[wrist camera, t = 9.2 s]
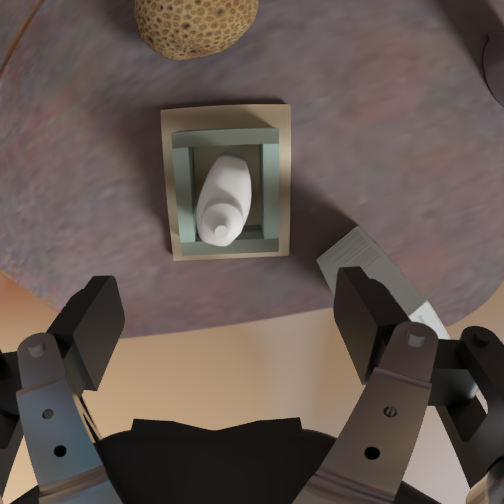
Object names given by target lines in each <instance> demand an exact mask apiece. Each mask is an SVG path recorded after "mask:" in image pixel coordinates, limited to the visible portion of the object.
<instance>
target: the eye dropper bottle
mask: <svg viewBox="0 0 504 504" xmlns="http://www.w3.org/2000/svg"><path fill="white" fill-rule="evenodd" d="M250 204H251V180H250V175H249V170H248V167H247V164H246V161H245V159H244V158H243V157H241V156H237V155H233V154H229V153H222V154H220V155H219V156H218V158H217V159H216V160H215V162H214V163H213V165H212V167H211V168H210V171H209V173H208V175H207V178H206V180H205V183H204V185H203V188H202V190H201V193H200V196H199V200H198V205H197V213H196V221H197V229H198V233H199V236H200V238H201V240H202V241H204V242H205V243H208V244H212V245H216V246H227V245H229V244H230V243H231V242H233V240H234V239H235V238H236V237H238V235H239V234H240V233H241V232H242V228H243V226H244V224H245V222H246V219H247V217H248V214H249V210H250Z"/></svg>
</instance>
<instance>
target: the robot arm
mask: <svg viewBox="0 0 504 504" xmlns="http://www.w3.org/2000/svg"><path fill="white" fill-rule="evenodd" d="M488 35H489V41H488V43H487V45H486V46H485V49H484V54H483V68H484V73H485V77H486V80H487V83H488V86H489V88H490V90H491V92H492V94H493V95H494V97H495V98H496V100H497V101H498V102H499V103H500V104H501V105H502V106H504V31H498V32H491V33H489V34H488ZM333 309H334V318H335V322H336V324H337V326H338V329H339V331H340V333H341V336H342V338H343V340H344V342H345V345H346V347H347V350H348V352H349V354H350V356H351V359H352V361H353V364H354V366H355V369H356V371H357V373H358V376H359V378H360V381H361V383H362V385H366V384H367V385H366V387H365V389H364V390H363V392H362V394H361V396H360V398H359V400H358V402H357V404H356V406H355V408H354V410H353V411H352V413H351V415H350V417H349V419H348V421H347V422H346V425H345V426H344V428H343V430H342V431H341V433H340V435H339V436H338V438H335V437H333V436H331V435H328V434H325V433H322V432H318V431H314V430H309V429H302V426H301V421H300V418H299V417H298V418H287V419H276V420H260V421H255V422H251V423H247V424H243V425H239V426H234V427H230V428H226V429H221V430H207V429H203V428H198V427H194V426H190V425H185V424H182V423H178V422H174V421H159V420H144V419H134V420H133V424H132V428H131V430H129V431H123V432H119V433H116V434H112V435H110V436H107V437H105V438H102V436H101V434H100V433H99V431H98V428H97V426H96V424H95V422H94V420H93V418H92V416H91V414H90V411H89V409H88V407H87V405H86V403H85V400H84V398H83V397H82V393H83V391H84V390H92V391H97V390H98V387H99V385H100V382H101V380H102V377H103V375H104V372H105V370H106V367H107V365H108V363H109V360H110V358H111V355H112V353H113V351H114V348H115V346H116V344H117V342H118V339H119V337H120V335H121V332H122V330H123V328H124V322H125V317H124V311H123V307H122V303H121V299H120V295H119V291H118V287H117V282H116V279H115V278H114V276H93V277H92V279H91V280H90V281H89V282H88V284H87V285H86V287H85V288H84V289H81V290H80V291H79V292H77V293H76V294H74V295H73V296H72V297H71V298H70V300H69V301H68V302H67V304H66V306H64V308H63V309H62V310H61V313H59V315H58V316H57V317H56V319H55V320H54V322H53V323H52V324H51V326H50V327H49V329H48V330H47V332H46V333H37V334H34V335H31V336H29V337H27V338H26V339H25V340H24V341H22V342H21V344H20V345H19V347H18V349H17V351H15V352H8V353H2V352H1V350H0V504H3V501H2V497H3V493H4V490H5V487H6V483H7V480H8V477H9V474H10V471H11V468H12V465H13V462H14V459H15V457H16V454H17V451H18V449H19V446H20V443H21V440H22V438H23V435H24V437H25V441H26V445H27V448H28V453H29V456H30V460H31V463H32V467H33V469H34V473H35V476H36V479H37V482H38V485H37V486H35V487H34V488H32V489H31V490H29V491H28V492H26V493H25V494H24V495H22V496H21V497H19V498H17V499H16V500H15V501H13V502H12V503H10V504H441V503H439V502H438V501H436V500H434V499H432V498H431V497H429V496H427V495H425V494H424V493H422V492H420V491H419V490H417V489H415V488H414V487H412V486H410V485H409V484H407V483H406V482H404V481H402V479H403V476H404V474H405V471H406V468H407V466H408V463H409V460H410V458H411V455H412V452H413V449H414V446H415V443H416V440H417V437H418V434H419V431H420V428H421V425H422V421H423V418H424V415H425V411H426V408H427V406H435V407H436V410H437V412H438V414H439V416H440V418H441V420H442V422H443V424H444V427H445V429H446V431H447V434H448V436H449V438H450V440H451V443H452V445H453V447H454V450H455V452H456V454H457V457H458V459H459V461H460V464H461V467H462V469H463V472H464V474H465V477H466V479H467V482H468V485H469V487H470V491H469V493H468V495H467V498H466V504H504V345H503V343H502V342H501V341H500V340H499V338H498V337H497V336H496V335H495V334H494V333H493V332H492V331H490V330H488V329H486V328H483V327H480V326H470V327H467V328H465V329H464V330H463V332H462V334H461V337H460V339H459V340H450V339H438V335H437V333H436V332H435V331H434V330H433V329H432V328H431V327H429V326H428V325H425V324H423V323H420V322H414V321H411V320H410V318H409V317H408V316H407V314H406V313H405V312H404V310H403V309H402V307H401V306H400V305H399V303H398V302H396V300H395V298H394V297H393V296H392V295H391V293H390V292H389V290H388V289H387V288H386V286H385V285H383V284H382V283H380V282H379V281H377V280H376V279H369V277H368V276H367V275H366V273H365V272H364V271H363V269H362V268H361V267H360V266H352V267H340V268H339V269H338V272H337V280H336V289H335V298H334V307H333ZM478 389H480V391H481V393H482V394H483V396H484V398H485V399H486V401H487V405H488V413H487V414H486V412H485V410H484V409H483V407H482V405H481V403H480V402H479V400H478V398H477V397H476V393H477V391H478Z"/></svg>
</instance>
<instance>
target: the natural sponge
mask: <svg viewBox="0 0 504 504" xmlns="http://www.w3.org/2000/svg"><path fill="white" fill-rule="evenodd" d="M258 2H259V1H258V0H135V4H134V13H135V19H136V23H137V27H138V30H139V33H140V35H141V37H142V39H143V40H144V41H145V43H146V44H147V45H148V46H149V47H150V48H152V49H153V50H154V51H156V52H157V53H158V54H160V55H162V56H164V57H166V58H168V59H171V60H187V59H192V58H195V57H201V56H206V55H212V54H216V53H219V52H221V51H223V50H225V49H227V48H229V47H230V46H231V45H233V44H234V43H235V42H236V41H237V40H239V38H240V37H241V36H242V35H243V34H244V33H245V32H246V31H247V29H248V28H249V27H250V26H251V24H252V23H253V21H254V19H255V16H256V14H257V11H258Z"/></svg>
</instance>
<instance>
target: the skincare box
mask: <svg viewBox="0 0 504 504" xmlns="http://www.w3.org/2000/svg"><path fill="white" fill-rule="evenodd" d="M316 261H317V263H318V265H319V267H320V269H321V271H322V273H323V275H324V277H325V280H326V282H327V284H328V286H329V288H330V290H331V292H332V295H333V297H334V298H335V289H336V280H337V272H338V269H339V268H340V267H352V266H360V267H361V268H362V269H363V271H364V272H365V273H366V275H367V276H368V277H369V279H376V280H377V281H379V282H380V283H382V284H383V285H385V286H386V288H387V289H388V290H389V292H390V293H391V295H392V296H393V297H394V298H395V300H396V302H398V303H399V305H400V306H401V307H402V309H403V310H404V312H405V313H406V314H407V316H408V317H409V318H410V320H411V321H414V322H420V323H423V324H425V325H428V326H429V327H431V328H432V329H433V330H434V331H435V332H436V333H437V335H438V339H450V337H449V335H448V333H447V331H446V329H445V328H444V326H443V324H442V323H441V321H440V319H439V318H438V316H437V314H436V312H435V311H434V309H433V308H432V306H431V305H430V303H429V302H428V301H427V299H426V298H425V297H424V296H423V295H422V294H421V293H420V292H419V291H418V289H417V288H416V287H415V286H414V285H413V284H412V283H411V282H410V281H409V280H408V278H407V277H406V276H405V275H404V274H403V273H402V271H401V270H400V269H399V268H398V266H397V265H396V264H395V263H394V262H393V261H392V260H391V259H390V257H389V256H388V255H387V254H386V253H385V252H384V251H383V250H382V249H381V248H380V247H379V246H378V244H377V243H376V242H375V241H374V240H373V239H372V238H371V237H370V236H369V235H368V234H367V233H366V232H365V231H364V230H363V229H362V228H361V227H360V226H359V225H358V226H356V227H355V228H354V229H353V230H351V231H350V232H349V233H348V234H347V235H345V236H344V237H343V238H342V239H341V240H339V241H338V242H337V243H336V244H335V245H333V246H332V247H331V248H330V249H328V250H327V251H326V252H325V253H324V254H322V255H321V256H320V257H319V258H318V259H317V260H316ZM450 340H451V339H450Z"/></svg>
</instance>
